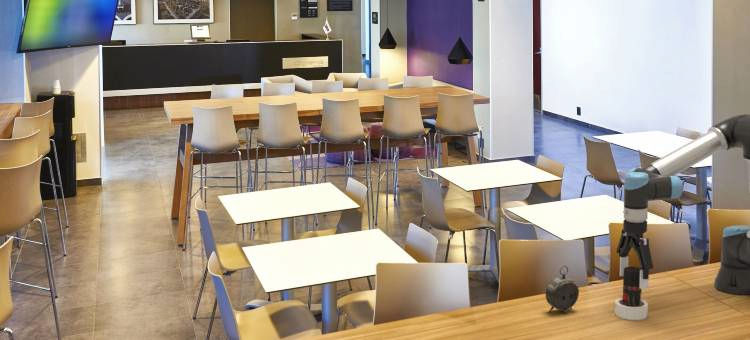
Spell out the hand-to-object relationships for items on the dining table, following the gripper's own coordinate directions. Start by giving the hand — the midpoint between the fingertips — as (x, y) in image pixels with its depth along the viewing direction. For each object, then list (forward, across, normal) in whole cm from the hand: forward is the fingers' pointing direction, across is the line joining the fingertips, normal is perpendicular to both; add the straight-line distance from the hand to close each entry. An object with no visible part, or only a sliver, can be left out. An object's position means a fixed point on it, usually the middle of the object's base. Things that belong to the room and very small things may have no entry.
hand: (633, 281), depth 292 cm
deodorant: (+11, 0, -1) cm, 11 cm away
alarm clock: (+11, -8, -22) cm, 26 cm away
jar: (+11, 0, -1) cm, 12 cm away
